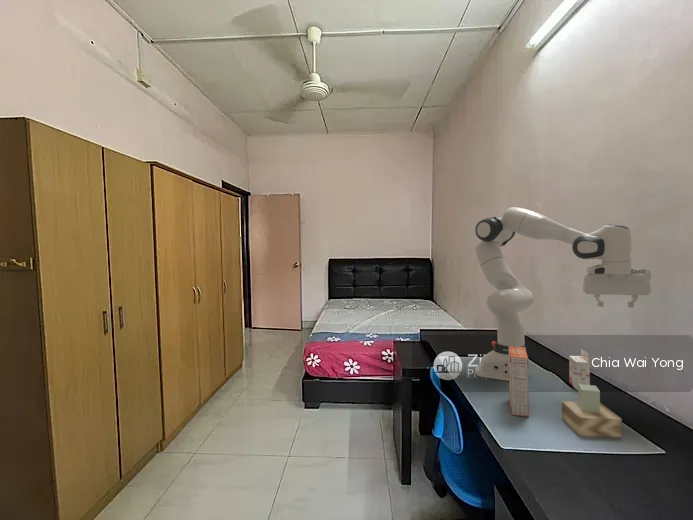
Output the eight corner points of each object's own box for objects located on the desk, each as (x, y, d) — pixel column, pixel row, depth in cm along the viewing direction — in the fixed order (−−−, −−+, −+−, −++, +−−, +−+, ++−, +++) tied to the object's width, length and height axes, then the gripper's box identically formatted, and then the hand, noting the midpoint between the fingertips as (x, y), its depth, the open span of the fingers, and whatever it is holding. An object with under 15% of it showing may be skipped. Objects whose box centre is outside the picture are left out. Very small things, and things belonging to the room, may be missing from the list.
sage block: (581, 411, 120) (581, 389, 119) (577, 404, 124) (578, 383, 124) (599, 413, 118) (599, 391, 117) (595, 406, 122) (595, 385, 122)
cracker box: (508, 399, 143) (508, 345, 142) (525, 401, 141) (525, 346, 140) (510, 415, 130) (509, 356, 129) (529, 417, 128) (529, 357, 127)
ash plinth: (579, 436, 115) (579, 417, 115) (561, 418, 127) (561, 401, 127) (621, 438, 114) (621, 418, 114) (599, 419, 126) (599, 402, 126)
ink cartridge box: (568, 382, 158) (568, 348, 157) (581, 383, 157) (581, 348, 156) (576, 390, 150) (576, 354, 149) (590, 391, 149) (590, 354, 148)
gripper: (647, 268, 135) (646, 306, 136) (581, 268, 142) (581, 304, 143) (654, 269, 129) (653, 309, 130) (586, 269, 136) (585, 307, 137)
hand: (615, 306), depth 137 cm, fingers open, 8 cm apart
